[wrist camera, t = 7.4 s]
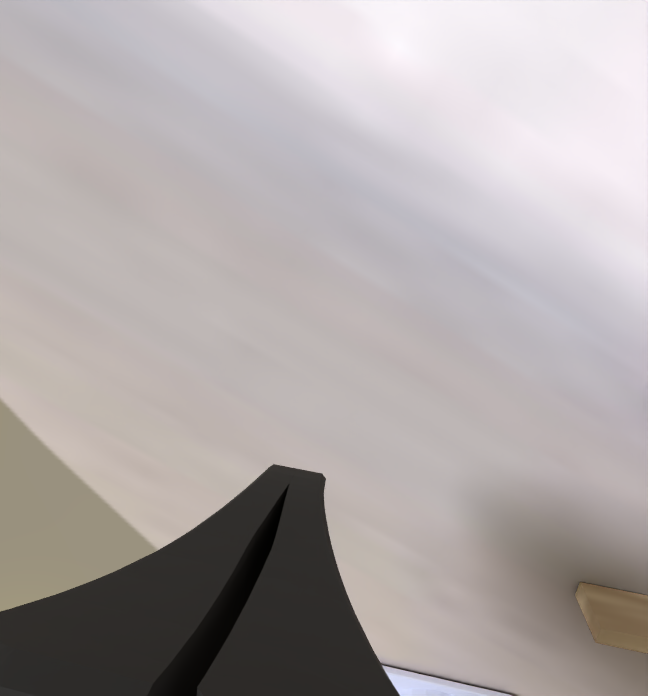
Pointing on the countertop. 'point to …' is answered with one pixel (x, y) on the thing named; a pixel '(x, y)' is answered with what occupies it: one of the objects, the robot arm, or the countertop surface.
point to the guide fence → (615, 616)
